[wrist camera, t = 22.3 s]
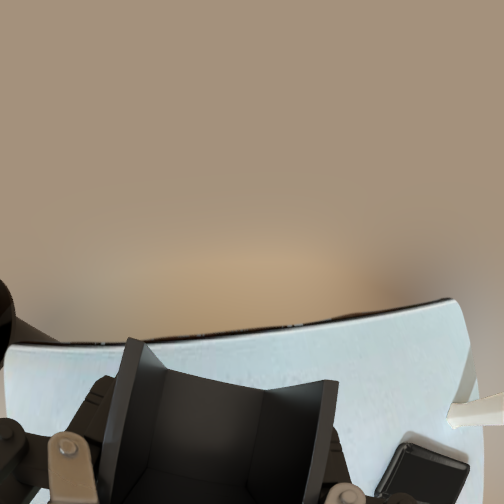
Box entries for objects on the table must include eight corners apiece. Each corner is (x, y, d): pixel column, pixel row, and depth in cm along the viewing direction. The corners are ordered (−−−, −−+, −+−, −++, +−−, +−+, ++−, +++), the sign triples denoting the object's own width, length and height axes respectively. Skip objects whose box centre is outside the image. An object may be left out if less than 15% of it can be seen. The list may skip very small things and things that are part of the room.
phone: (406, 440, 25) (472, 465, 23) (400, 440, 26) (466, 465, 24) (375, 501, 21) (449, 515, 19) (370, 499, 22) (443, 514, 20)
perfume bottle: (469, 411, 28) (555, 392, 15) (455, 435, 26) (545, 424, 13) (456, 392, 30) (545, 366, 17) (441, 416, 28) (535, 399, 15)
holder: (137, 470, 11) (90, 525, 4) (159, 367, 14) (127, 336, 7) (252, 492, 12) (303, 558, 5) (271, 391, 15) (339, 381, 8)
